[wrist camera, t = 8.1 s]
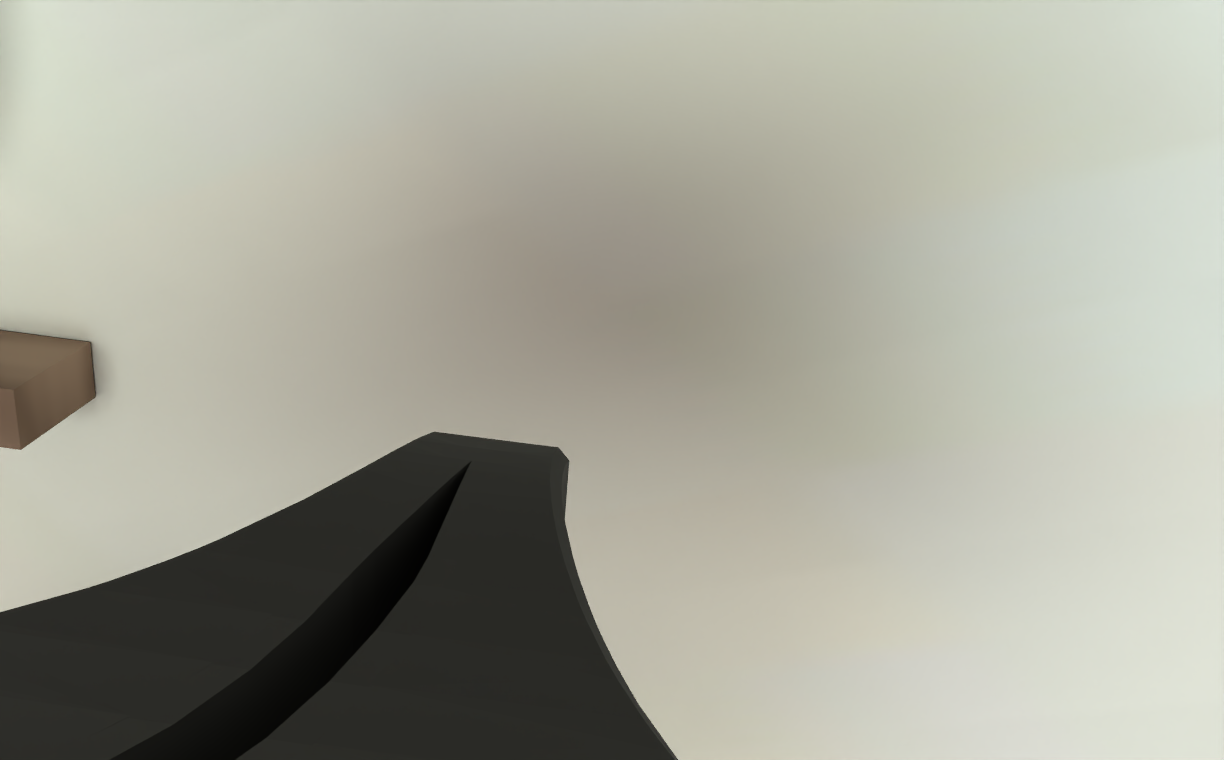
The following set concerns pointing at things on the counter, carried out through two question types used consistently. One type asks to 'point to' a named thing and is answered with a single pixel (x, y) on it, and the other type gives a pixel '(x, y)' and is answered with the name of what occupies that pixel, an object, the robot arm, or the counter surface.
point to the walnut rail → (40, 384)
